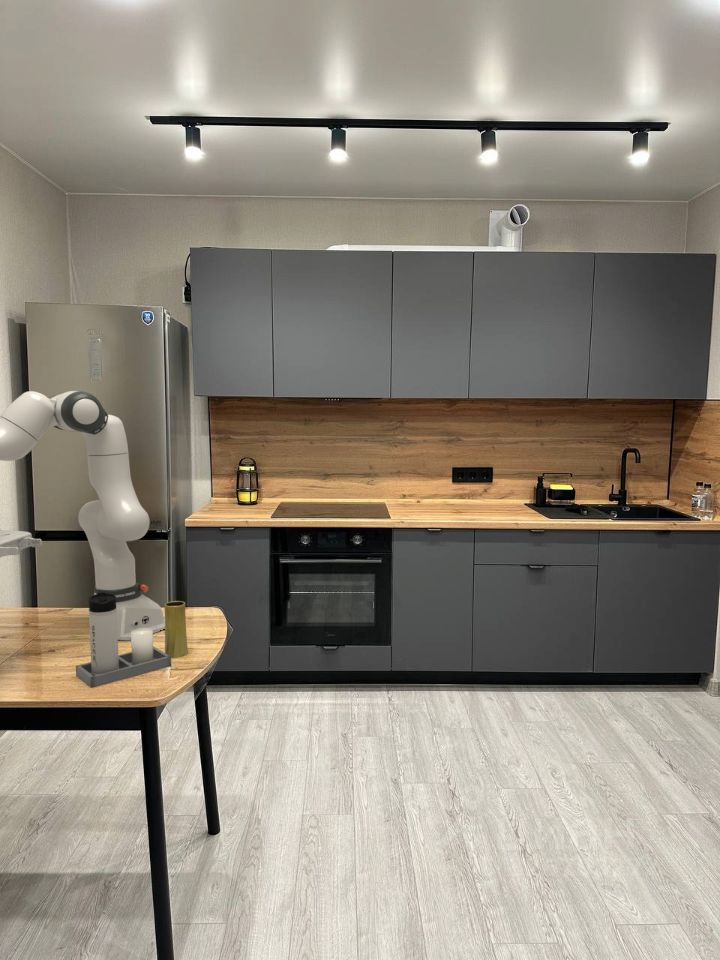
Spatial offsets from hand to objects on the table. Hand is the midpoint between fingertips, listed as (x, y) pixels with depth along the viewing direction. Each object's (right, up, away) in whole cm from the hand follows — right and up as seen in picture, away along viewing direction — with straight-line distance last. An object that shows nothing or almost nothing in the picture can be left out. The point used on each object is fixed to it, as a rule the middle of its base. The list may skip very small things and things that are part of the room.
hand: (29, 546), depth 162 cm
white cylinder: (+25, -31, +7) cm, 40 cm away
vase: (+32, -31, +15) cm, 47 cm away
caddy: (+22, -32, +4) cm, 39 cm away
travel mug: (+18, -32, +1) cm, 37 cm away
